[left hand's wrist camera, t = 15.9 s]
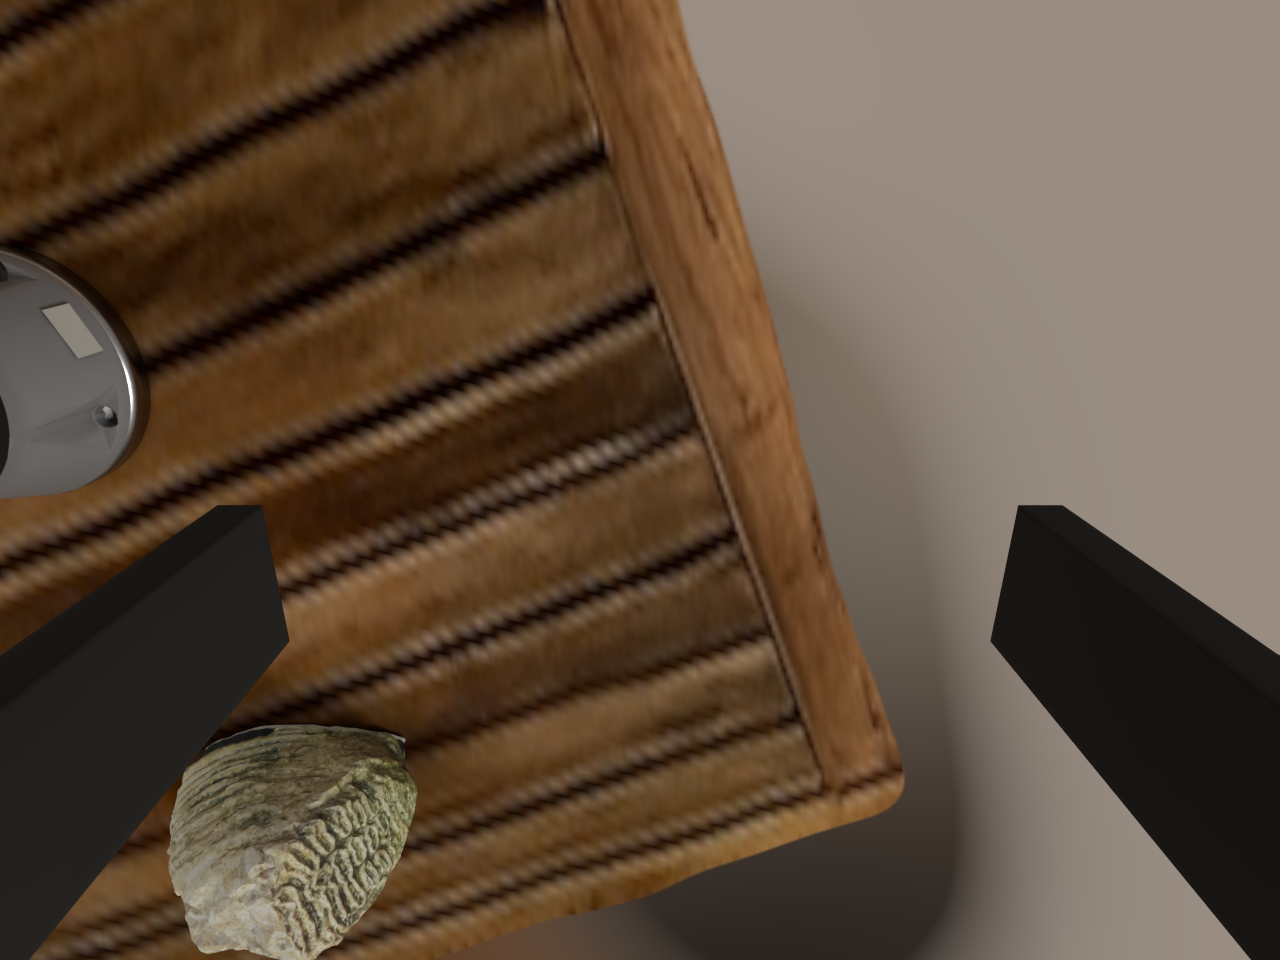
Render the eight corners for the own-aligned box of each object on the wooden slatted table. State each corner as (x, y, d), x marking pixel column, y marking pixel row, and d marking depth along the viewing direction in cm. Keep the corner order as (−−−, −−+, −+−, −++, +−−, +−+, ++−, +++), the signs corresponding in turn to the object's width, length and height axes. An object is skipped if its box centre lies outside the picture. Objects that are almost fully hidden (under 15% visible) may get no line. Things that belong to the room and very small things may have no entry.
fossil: (449, 777, 56) (386, 967, 42) (236, 825, 58) (107, 1023, 44) (406, 687, 53) (322, 858, 39) (183, 741, 55) (25, 924, 41)
